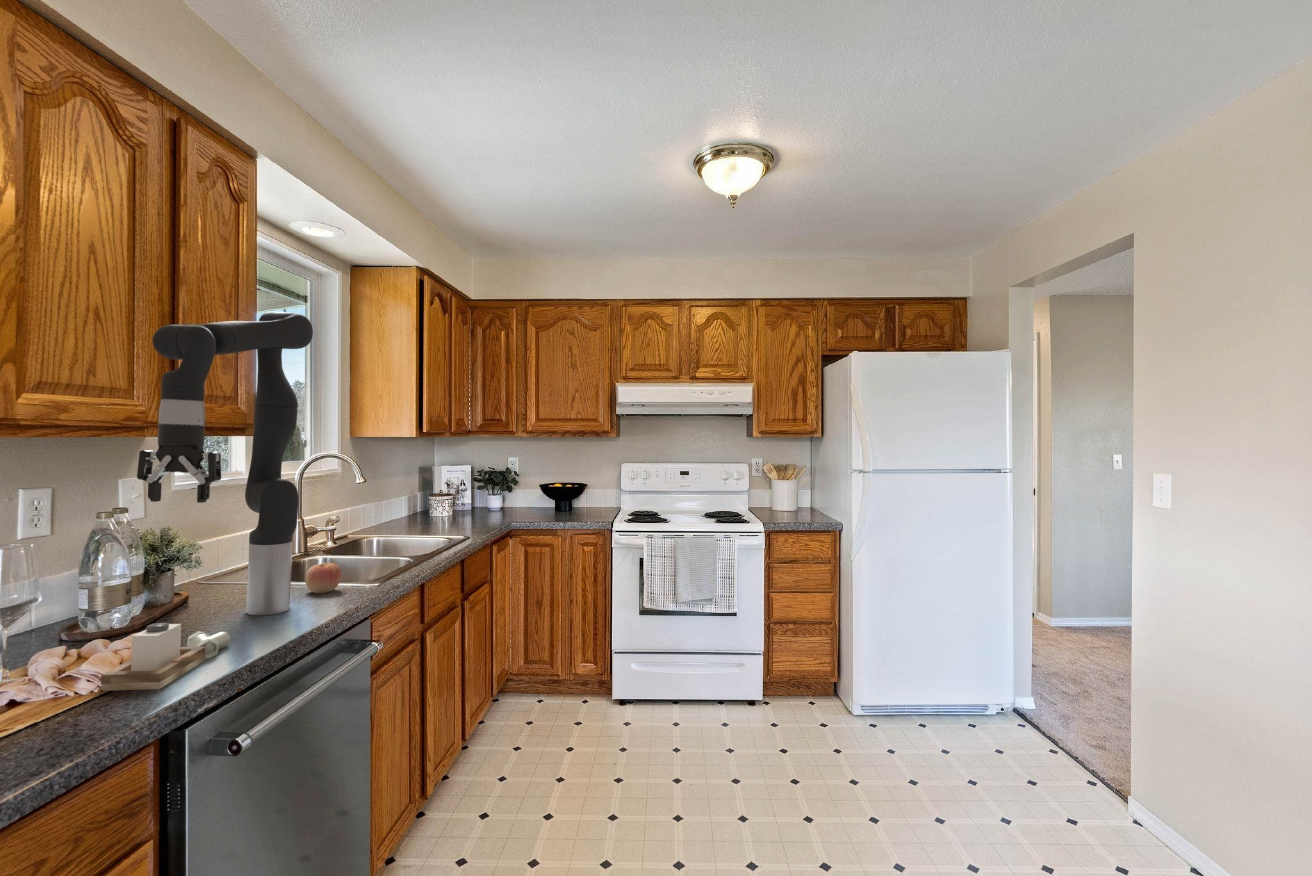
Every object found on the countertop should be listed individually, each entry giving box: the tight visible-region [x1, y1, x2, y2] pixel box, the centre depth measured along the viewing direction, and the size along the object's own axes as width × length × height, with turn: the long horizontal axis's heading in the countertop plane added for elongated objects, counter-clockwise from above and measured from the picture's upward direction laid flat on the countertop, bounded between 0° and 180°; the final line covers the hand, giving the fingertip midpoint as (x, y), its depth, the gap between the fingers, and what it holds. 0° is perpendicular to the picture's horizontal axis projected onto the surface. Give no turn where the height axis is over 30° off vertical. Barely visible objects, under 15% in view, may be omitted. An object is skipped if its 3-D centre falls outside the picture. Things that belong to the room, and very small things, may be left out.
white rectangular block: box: [130, 622, 182, 671], centre depth 113 cm, size 4×7×8 cm, turn 9°
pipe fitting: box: [186, 630, 231, 660], centre depth 125 cm, size 8×4×7 cm
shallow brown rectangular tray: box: [100, 646, 206, 692], centre depth 113 cm, size 14×9×3 cm, turn 9°
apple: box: [305, 562, 342, 594], centre depth 174 cm, size 9×9×8 cm
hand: (178, 501), depth 126 cm, fingers open, 8 cm apart
